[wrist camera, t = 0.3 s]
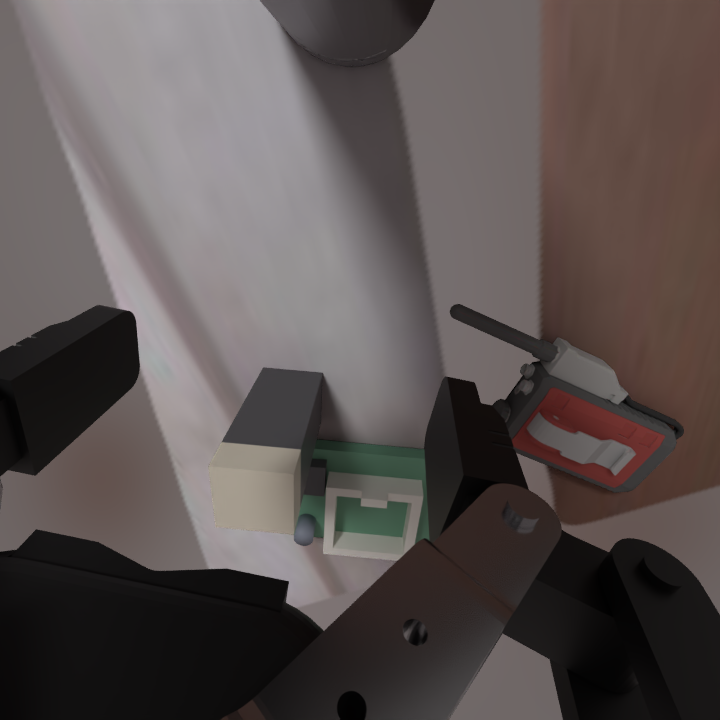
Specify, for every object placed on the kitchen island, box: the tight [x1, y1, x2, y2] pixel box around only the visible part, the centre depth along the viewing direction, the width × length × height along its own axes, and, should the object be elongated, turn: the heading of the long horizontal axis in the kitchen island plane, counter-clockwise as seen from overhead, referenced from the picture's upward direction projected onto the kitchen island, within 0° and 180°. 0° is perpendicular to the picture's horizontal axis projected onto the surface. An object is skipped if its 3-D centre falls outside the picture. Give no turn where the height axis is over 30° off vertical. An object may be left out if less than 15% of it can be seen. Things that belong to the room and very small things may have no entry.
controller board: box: [281, 439, 430, 561], centre depth 35 cm, size 10×14×4 cm
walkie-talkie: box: [450, 304, 684, 492], centre depth 30 cm, size 9×4×20 cm
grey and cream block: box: [208, 368, 323, 535], centre depth 28 cm, size 4×4×11 cm
